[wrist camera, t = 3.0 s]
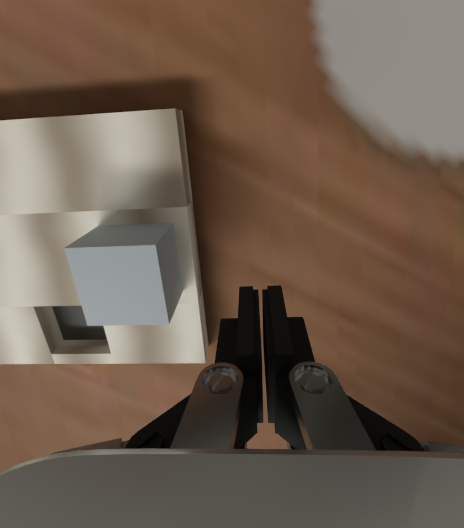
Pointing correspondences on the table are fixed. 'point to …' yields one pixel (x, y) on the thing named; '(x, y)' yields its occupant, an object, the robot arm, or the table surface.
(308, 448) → the robot arm
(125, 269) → the block
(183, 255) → the board
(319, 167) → the table surface
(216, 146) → the table surface
